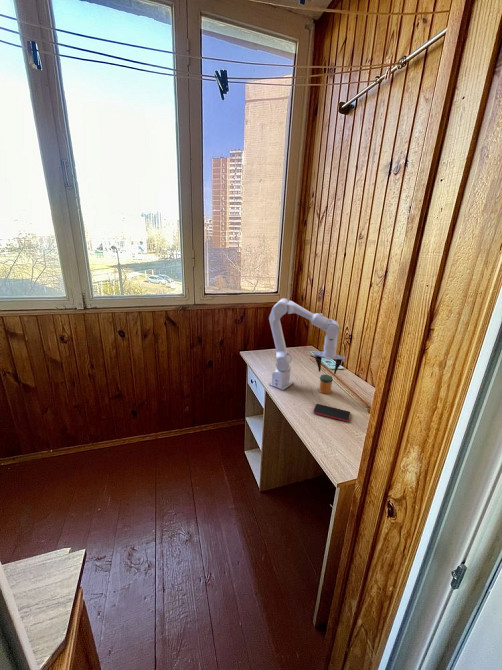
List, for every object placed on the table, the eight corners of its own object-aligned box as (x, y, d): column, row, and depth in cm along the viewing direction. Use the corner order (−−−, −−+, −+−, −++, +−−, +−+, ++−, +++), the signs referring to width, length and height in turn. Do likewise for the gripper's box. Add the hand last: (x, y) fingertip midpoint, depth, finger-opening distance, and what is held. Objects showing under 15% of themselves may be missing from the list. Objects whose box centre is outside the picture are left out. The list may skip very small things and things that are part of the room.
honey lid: (329, 384, 140) (329, 381, 140) (317, 380, 144) (318, 377, 143) (334, 379, 145) (334, 377, 144) (323, 375, 148) (323, 373, 148)
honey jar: (327, 395, 142) (329, 382, 140) (317, 391, 146) (318, 378, 143) (332, 390, 147) (334, 377, 144) (322, 386, 150) (323, 374, 147)
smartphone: (348, 421, 122) (312, 411, 127) (348, 422, 122) (312, 413, 127) (350, 411, 128) (316, 403, 134) (350, 413, 128) (316, 404, 134)
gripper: (313, 347, 137) (310, 373, 141) (345, 351, 132) (342, 378, 137) (315, 342, 143) (313, 367, 148) (346, 346, 139) (342, 372, 143)
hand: (327, 372), depth 143 cm, fingers open, 7 cm apart
